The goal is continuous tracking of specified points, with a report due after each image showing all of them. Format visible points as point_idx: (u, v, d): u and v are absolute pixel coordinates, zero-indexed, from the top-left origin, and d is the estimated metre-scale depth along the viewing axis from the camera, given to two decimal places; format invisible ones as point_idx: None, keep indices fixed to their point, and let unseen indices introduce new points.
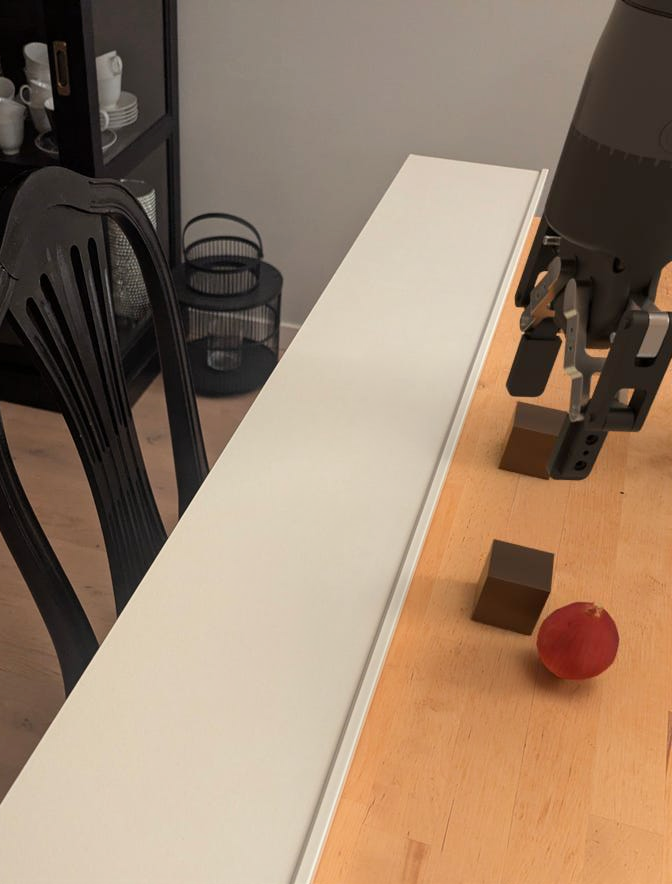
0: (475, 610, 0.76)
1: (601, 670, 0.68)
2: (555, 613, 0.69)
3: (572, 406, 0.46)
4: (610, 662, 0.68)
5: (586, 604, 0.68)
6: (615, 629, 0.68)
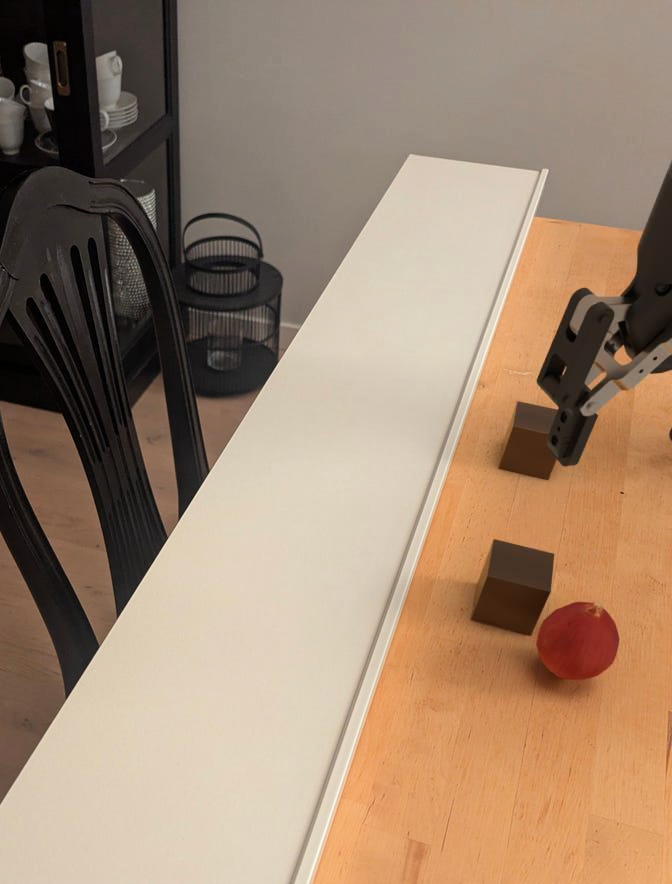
0: (475, 610, 0.76)
1: (601, 670, 0.68)
2: (555, 613, 0.69)
3: None
4: (610, 662, 0.68)
5: (586, 604, 0.68)
6: (615, 629, 0.68)
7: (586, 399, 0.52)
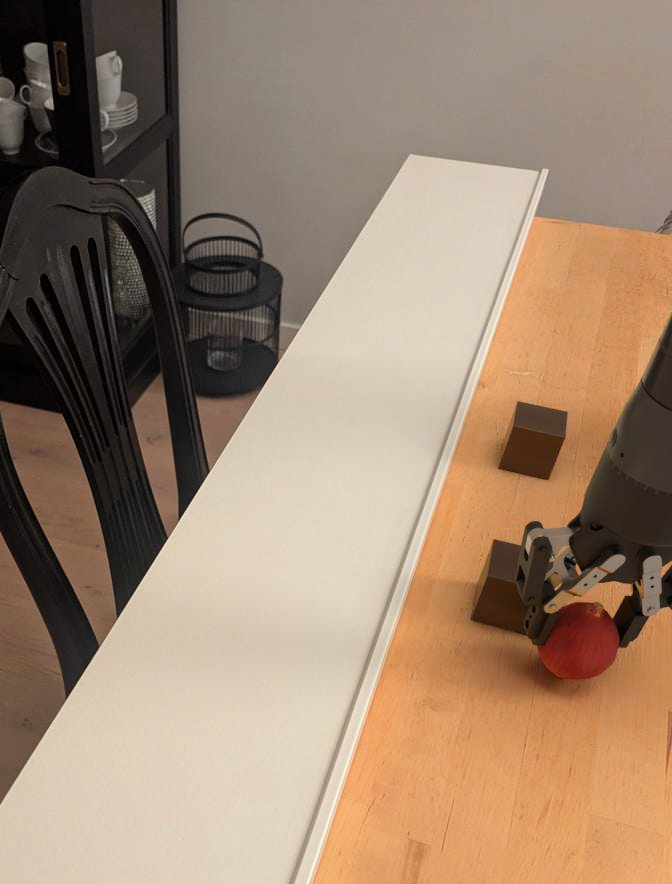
0: (475, 610, 0.76)
1: (601, 670, 0.68)
2: None
3: None
4: (610, 662, 0.68)
5: (586, 604, 0.68)
6: (615, 629, 0.68)
7: (548, 601, 0.66)
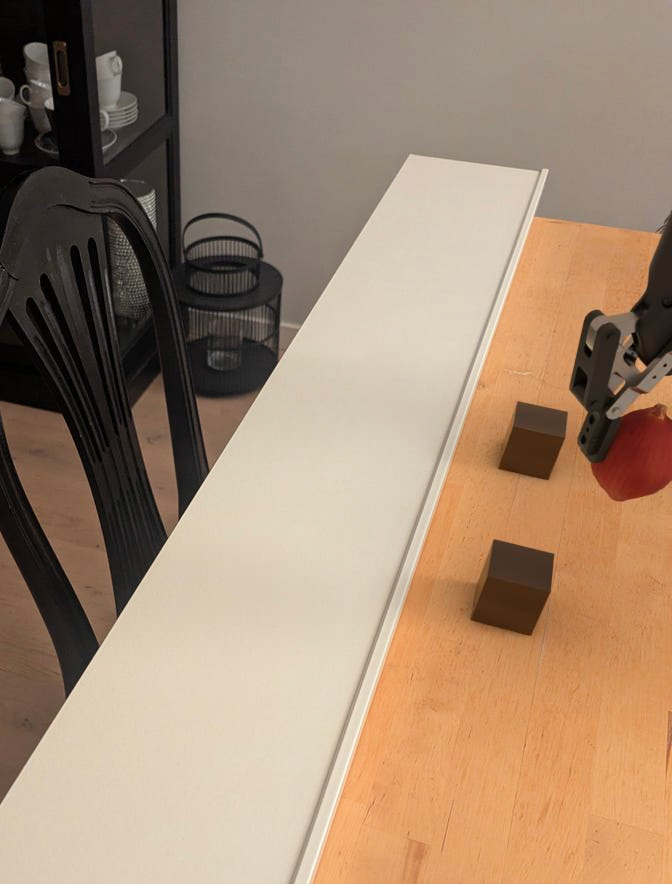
0: (475, 610, 0.76)
1: (668, 481, 0.63)
2: None
3: None
4: None
5: (646, 409, 0.62)
6: None
7: (611, 404, 0.60)
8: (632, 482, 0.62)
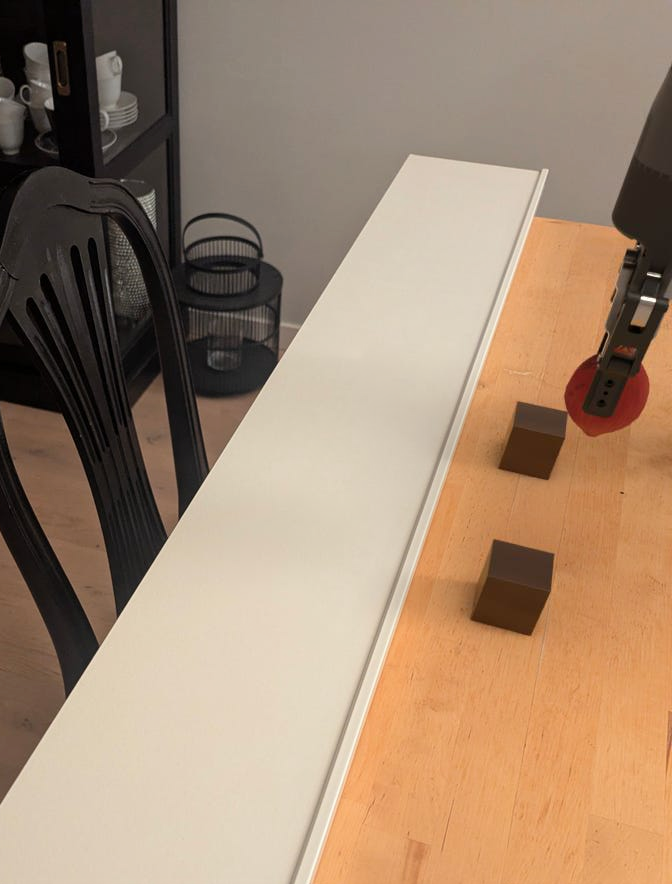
0: (475, 610, 0.76)
1: None
2: None
3: (599, 355, 0.64)
4: None
5: (617, 351, 0.67)
6: None
7: None
8: (637, 414, 0.68)
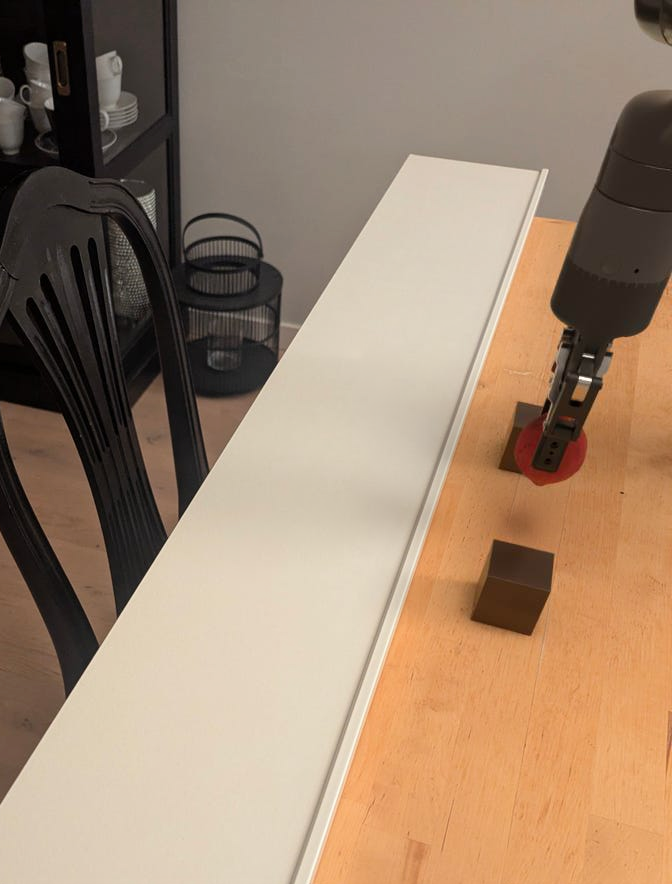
0: (475, 610, 0.76)
1: None
2: None
3: (544, 421, 0.74)
4: None
5: None
6: None
7: None
8: (578, 467, 0.78)
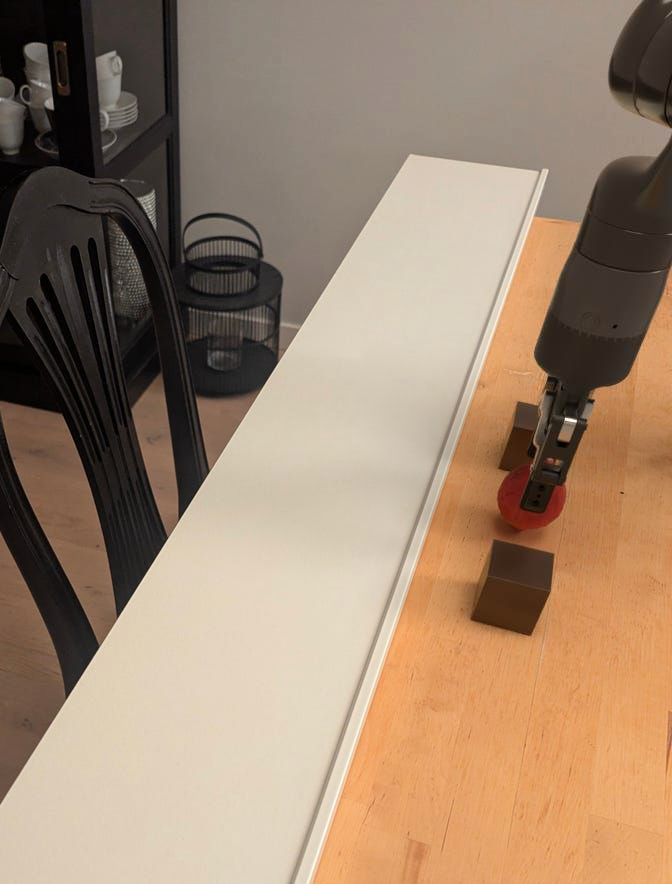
0: (475, 610, 0.76)
1: None
2: (523, 489, 0.80)
3: (531, 465, 0.76)
4: None
5: None
6: None
7: None
8: (557, 514, 0.82)
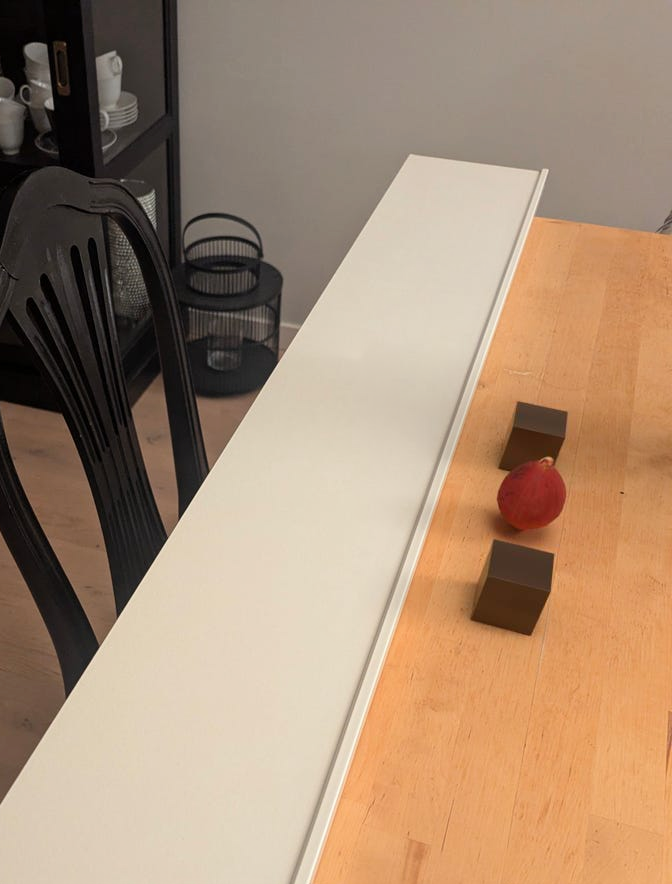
0: (475, 610, 0.76)
1: None
2: (523, 489, 0.80)
3: None
4: None
5: (538, 465, 0.80)
6: None
7: None
8: (557, 514, 0.82)
